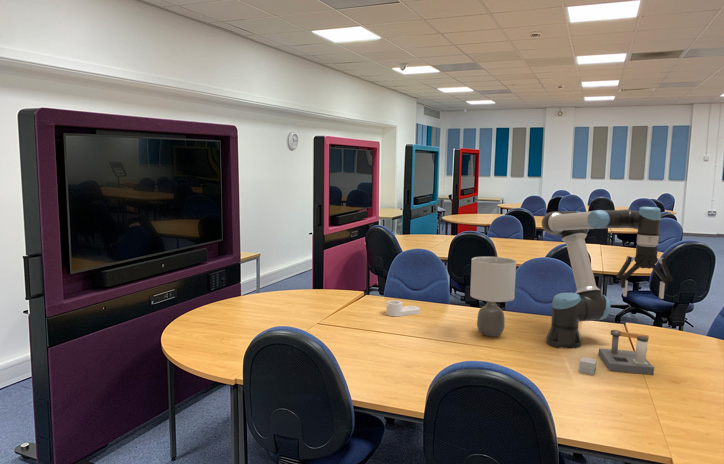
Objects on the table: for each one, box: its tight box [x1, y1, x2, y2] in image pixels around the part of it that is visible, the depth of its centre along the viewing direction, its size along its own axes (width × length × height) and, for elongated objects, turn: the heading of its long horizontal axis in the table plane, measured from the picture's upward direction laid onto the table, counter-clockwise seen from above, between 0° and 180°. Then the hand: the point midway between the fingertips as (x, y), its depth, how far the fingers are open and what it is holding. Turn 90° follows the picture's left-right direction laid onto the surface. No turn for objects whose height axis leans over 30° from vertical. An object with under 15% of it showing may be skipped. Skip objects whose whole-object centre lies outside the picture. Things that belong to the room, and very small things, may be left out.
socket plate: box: [597, 335, 655, 376], centre depth 205 cm, size 16×18×10 cm
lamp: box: [469, 256, 517, 337], centre depth 240 cm, size 21×21×37 cm
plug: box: [635, 336, 649, 363], centre depth 200 cm, size 4×4×10 cm
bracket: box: [386, 299, 421, 317], centre depth 276 cm, size 20×9×7 cm, turn 114°
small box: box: [578, 356, 598, 376], centre depth 197 cm, size 6×6×5 cm
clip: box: [610, 329, 650, 340], centre depth 209 cm, size 4×14×2 cm, turn 64°
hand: (642, 297), depth 202 cm, fingers open, 13 cm apart
